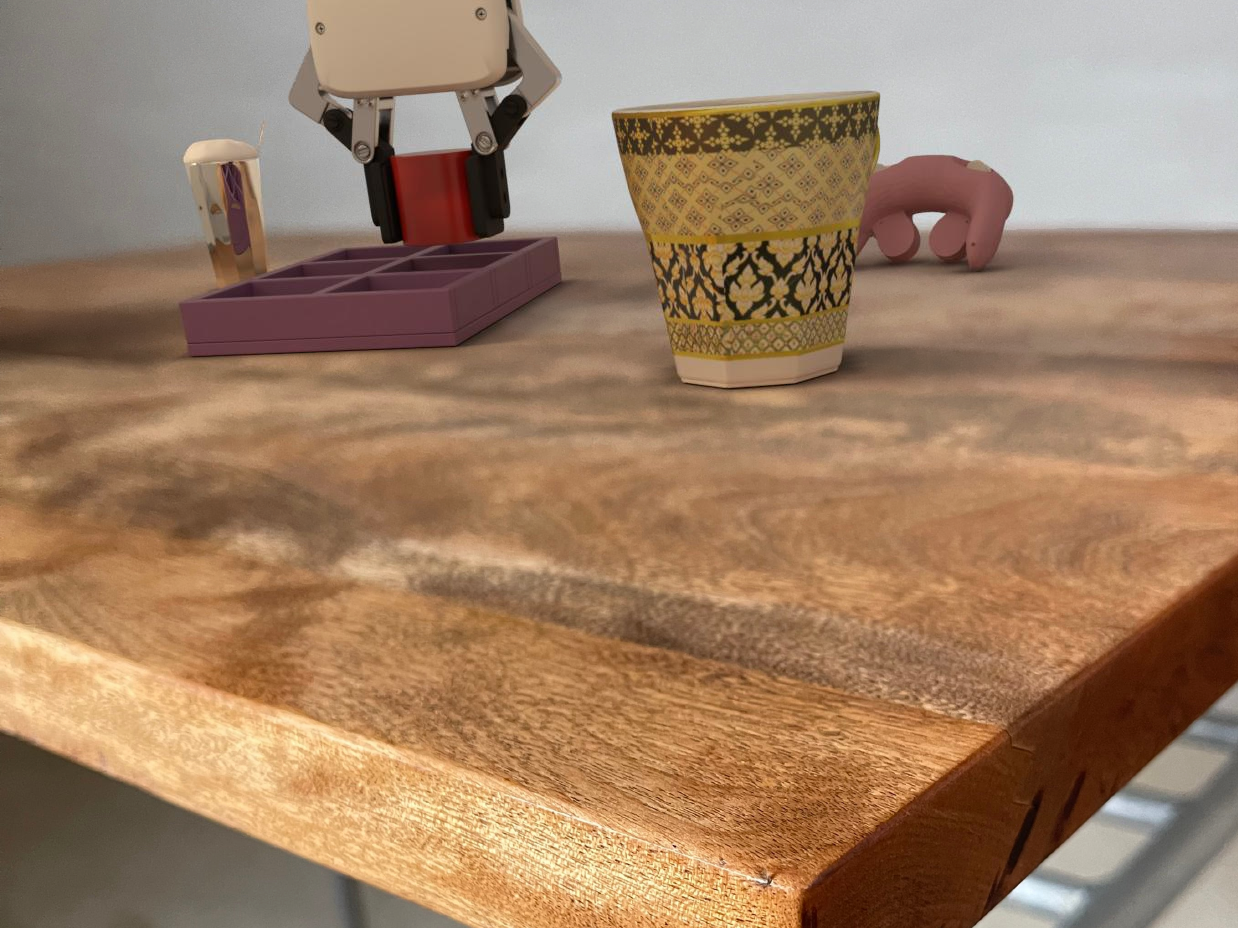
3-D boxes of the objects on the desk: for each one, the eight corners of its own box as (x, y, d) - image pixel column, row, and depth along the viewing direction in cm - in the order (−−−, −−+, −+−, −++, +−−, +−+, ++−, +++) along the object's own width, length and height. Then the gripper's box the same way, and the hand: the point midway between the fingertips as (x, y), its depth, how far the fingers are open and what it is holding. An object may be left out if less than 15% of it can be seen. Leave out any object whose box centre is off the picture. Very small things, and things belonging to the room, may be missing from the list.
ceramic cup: (770, 408, 50) (756, 105, 46) (582, 382, 57) (555, 114, 53) (976, 344, 59) (979, 81, 55) (791, 327, 65) (782, 92, 61)
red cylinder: (391, 248, 74) (377, 158, 72) (419, 238, 78) (407, 152, 76) (472, 243, 73) (460, 152, 71) (496, 233, 77) (486, 146, 75)
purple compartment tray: (456, 346, 67) (449, 289, 66) (188, 356, 69) (177, 302, 68) (562, 281, 85) (557, 236, 84) (346, 291, 88) (339, 247, 87)
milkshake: (300, 286, 92) (271, 119, 88) (215, 296, 90) (181, 126, 86) (286, 279, 95) (258, 119, 91) (204, 289, 94) (172, 126, 89)
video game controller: (1007, 290, 80) (1028, 167, 80) (982, 263, 76) (1005, 134, 76) (847, 288, 85) (866, 172, 85) (816, 262, 81) (836, 141, 81)
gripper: (579, -170, 70) (615, 220, 77) (259, -134, 73) (323, 238, 80) (539, -193, 63) (582, 237, 70) (188, -151, 66) (265, 256, 73)
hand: (444, 233), depth 75 cm, fingers closed on red cylinder, 4 cm apart
